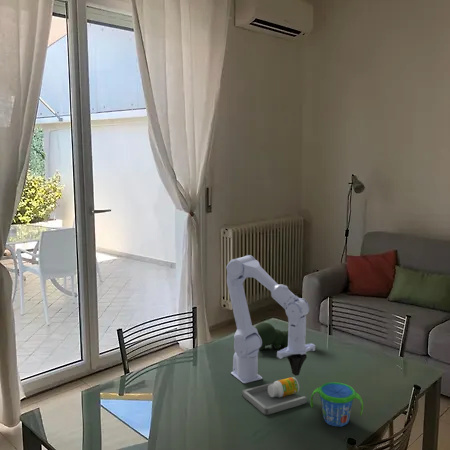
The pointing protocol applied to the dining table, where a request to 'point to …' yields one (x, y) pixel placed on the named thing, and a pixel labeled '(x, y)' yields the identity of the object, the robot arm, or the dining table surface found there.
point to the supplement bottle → (284, 387)
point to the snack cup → (336, 402)
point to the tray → (270, 400)
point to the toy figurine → (272, 336)
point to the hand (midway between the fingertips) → (295, 374)
